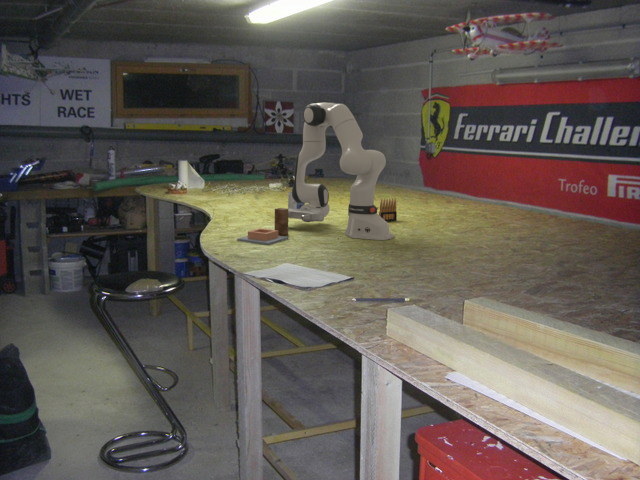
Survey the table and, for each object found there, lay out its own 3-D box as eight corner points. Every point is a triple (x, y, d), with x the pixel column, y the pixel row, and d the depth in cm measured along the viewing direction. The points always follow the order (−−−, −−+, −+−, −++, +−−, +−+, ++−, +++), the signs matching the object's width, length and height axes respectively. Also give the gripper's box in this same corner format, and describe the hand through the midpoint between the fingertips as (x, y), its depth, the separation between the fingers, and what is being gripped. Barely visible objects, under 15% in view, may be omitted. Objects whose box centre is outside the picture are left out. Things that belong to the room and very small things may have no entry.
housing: (288, 239, 276) (288, 230, 275) (268, 245, 262) (268, 235, 261) (258, 235, 283) (258, 226, 283) (237, 240, 269) (237, 231, 269)
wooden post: (288, 234, 287) (288, 208, 284) (282, 236, 283) (283, 209, 280) (279, 233, 289) (280, 207, 286) (274, 235, 285) (274, 208, 283)
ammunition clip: (394, 220, 335) (395, 198, 333) (396, 220, 333) (397, 198, 331) (378, 221, 330) (379, 198, 327) (380, 222, 328) (381, 199, 326)
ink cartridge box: (305, 215, 343) (305, 189, 340) (296, 216, 340) (296, 189, 337) (296, 213, 351) (296, 187, 349) (287, 213, 348) (287, 187, 346)
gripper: (290, 204, 310) (275, 208, 298) (326, 208, 301) (312, 211, 289) (290, 217, 311) (275, 221, 299) (326, 221, 302) (312, 225, 290)
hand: (294, 216), depth 294 cm, fingers open, 8 cm apart
